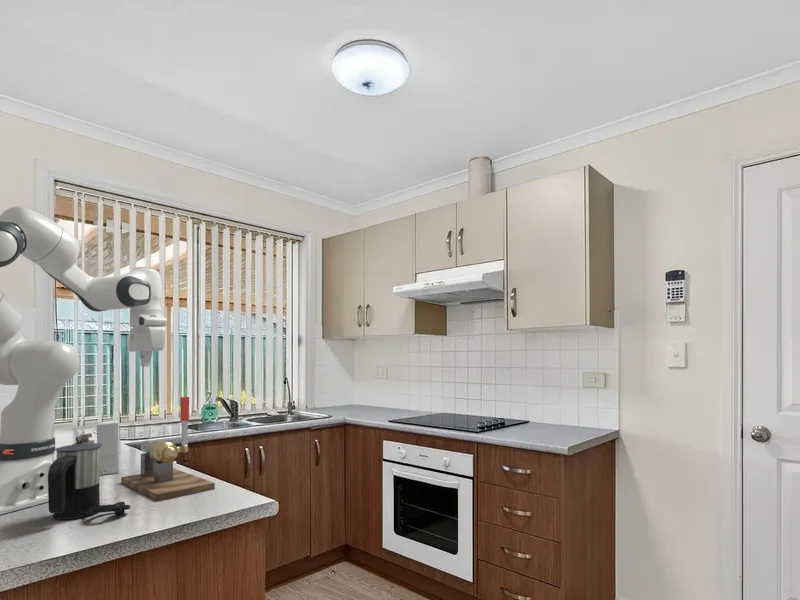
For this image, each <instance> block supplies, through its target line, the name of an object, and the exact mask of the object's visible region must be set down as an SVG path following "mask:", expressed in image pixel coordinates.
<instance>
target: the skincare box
mask: <svg viewBox="0 0 800 600" xmlns="http://www.w3.org/2000/svg"><path fill="white" fill-rule="evenodd" d="M96 443H99V444H102V446H101V447H100V476H102V475H114V474H119V473H120V469H121V455H120V454H121V451H120V450H121V448H120V447H121V446H120V443H121V441H120V420H110V421H102V422H98V423H97V425H96Z"/></svg>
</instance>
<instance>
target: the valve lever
mask: <svg viewBox="0 0 800 600" xmlns="http://www.w3.org/2000/svg"><path fill="white" fill-rule="evenodd" d="M179 408H180V409H179V410H180V415H179V416H180V422H181V445H180V446H182V452H181V453H182V454H183V453H188V452H189V445H188V444H189V440H188V439H189V429H188V428H189V426H188V425H189V423H188V422H189V421H190V397H189V396H181V397H180V405H179Z"/></svg>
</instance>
